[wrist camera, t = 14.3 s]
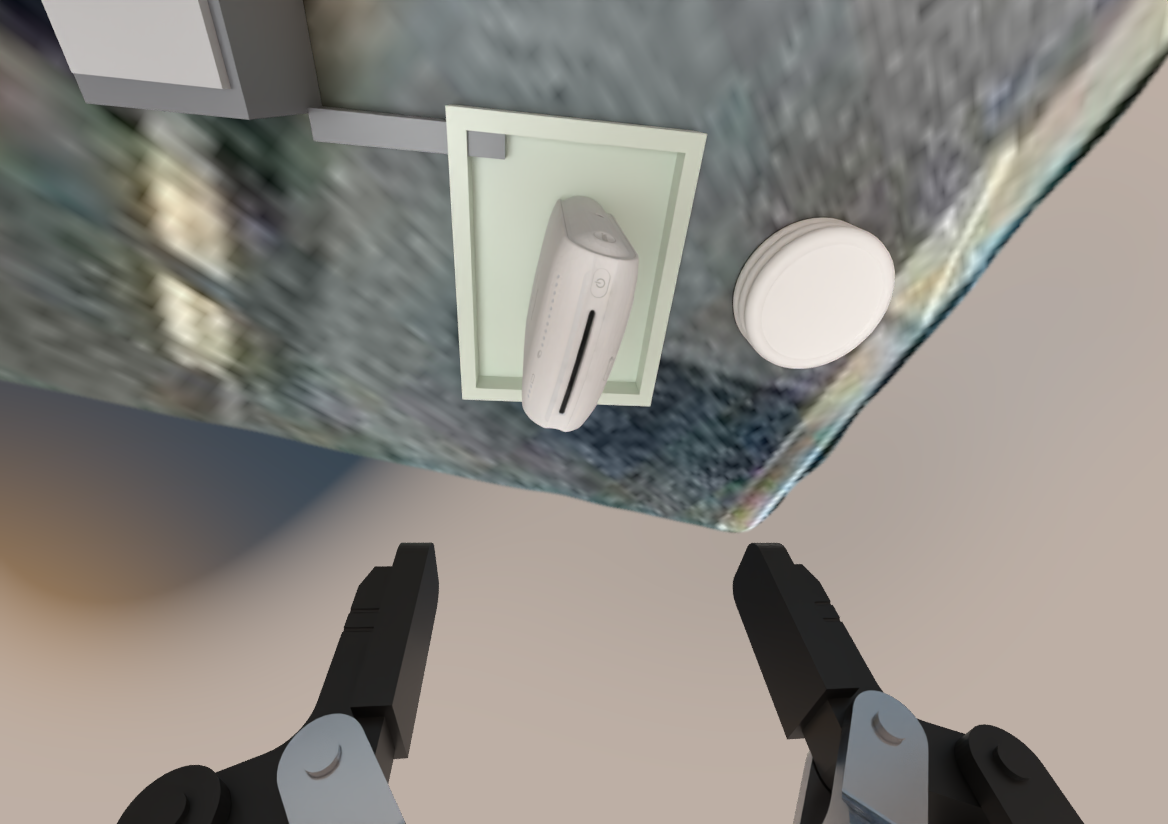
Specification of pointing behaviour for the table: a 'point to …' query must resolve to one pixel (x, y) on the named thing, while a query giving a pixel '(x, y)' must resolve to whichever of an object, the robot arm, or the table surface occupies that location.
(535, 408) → the photo printer
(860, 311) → the white round puck
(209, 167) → the table surface
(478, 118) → the tray
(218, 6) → the dock
